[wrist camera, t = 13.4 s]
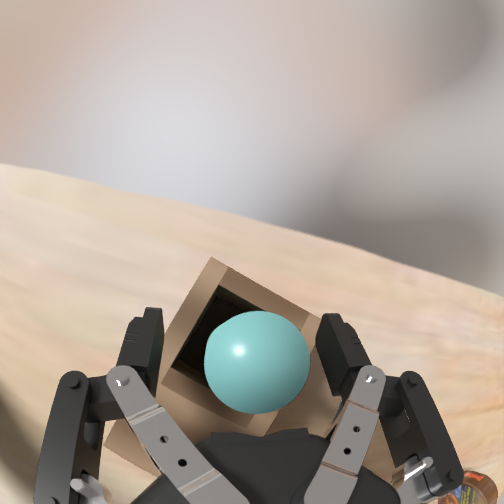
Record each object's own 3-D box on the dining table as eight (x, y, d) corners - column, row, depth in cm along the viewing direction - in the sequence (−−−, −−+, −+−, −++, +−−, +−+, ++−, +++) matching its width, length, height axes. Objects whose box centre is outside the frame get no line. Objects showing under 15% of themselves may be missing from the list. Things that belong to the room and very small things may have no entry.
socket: (214, 471, 17) (217, 503, 13) (123, 423, 17) (103, 445, 13) (301, 324, 22) (326, 321, 17) (210, 273, 22) (211, 256, 17)
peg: (240, 378, 20) (279, 429, 9) (197, 355, 20) (184, 383, 9) (263, 337, 21) (326, 340, 10) (221, 314, 21) (237, 291, 10)
